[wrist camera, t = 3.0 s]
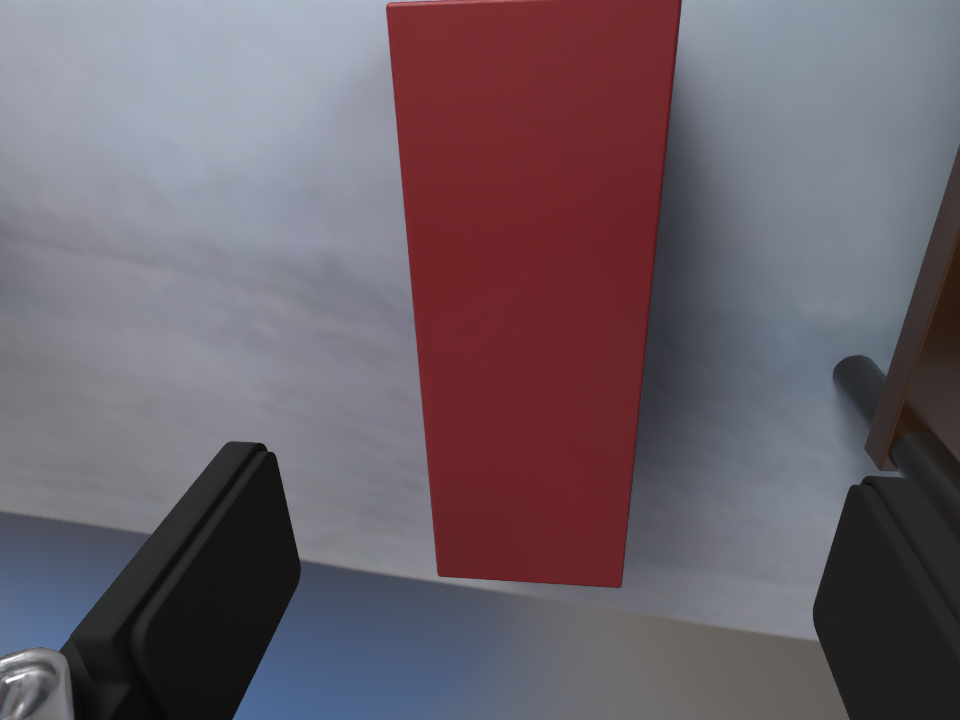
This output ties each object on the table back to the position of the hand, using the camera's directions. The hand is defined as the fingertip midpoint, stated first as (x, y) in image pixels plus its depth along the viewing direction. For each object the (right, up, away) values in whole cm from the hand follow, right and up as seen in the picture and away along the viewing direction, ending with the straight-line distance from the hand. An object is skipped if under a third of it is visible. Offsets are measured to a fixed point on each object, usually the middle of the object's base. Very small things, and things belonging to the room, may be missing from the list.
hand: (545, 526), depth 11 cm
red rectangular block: (+1, +5, +9) cm, 10 cm away
